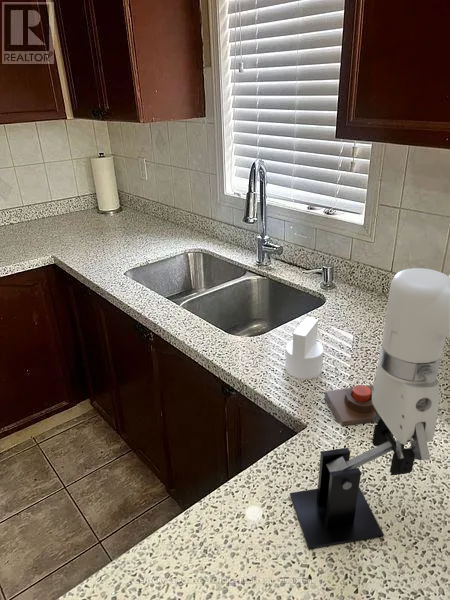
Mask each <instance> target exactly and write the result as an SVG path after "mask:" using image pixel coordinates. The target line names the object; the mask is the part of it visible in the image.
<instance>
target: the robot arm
mask: <svg viewBox="0 0 450 600" xmlns="http://www.w3.org/2000/svg"><path fill="white" fill-rule="evenodd" d="M447 338H448V339H450V274H448V275H447V274H446V273H444V272H441V271H438V270H435V269H429V268H424V267H423V268H422V267H413V268H405V269H402V270H400V271H398V272H396V274H395V275H394V276H393V278H392V280H391V282H390V286H389V292H388V300H387V305H386V313H385V319H384V324H383V333H382V339H381V346H380V353H379V360H378V363H377V367H376V370H375V374H374V380H373V384H372V385H373V388H372V403H373V405H374V408H375V412H376V413H375V416H374V422H373V423H374V428H373V432H372V433H373V435H372V442H371V444H372V445H373V447H377V446H379V445H381V444H383V443H385V442H387V441H386V440H385V438H384V437H383V435H382V432H383V431H384V430H389V431H390V433H391V434H392V436H393V437H394V439H395V440H396V452H395V453H394V452H393V453H392V458H391V463H390V468H389V473H390V474H391V476H400V475H407V474H410V473H412V472H413V469H414V468H413V467H414V464H415V460H417V461H425V460H430V459H431V455H430V450H429V445H428V443H429V442H433V439H434V437H435V433H436V427H437V421H438V415H439V405H440V382H439V380H438V379H437V378H438V374H439V369H440V366H441V361H442V357H443V353H444V348H445V343H446V339H447ZM407 443H410V447H407V448H405V446H406V445H407Z"/></svg>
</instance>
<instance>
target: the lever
mask: <svg viewBox="0 0 450 600" xmlns="http://www.w3.org/2000/svg"><path fill="white" fill-rule="evenodd" d="M382 435H383V437H384V438H385V440H386V441H387V442H385V443H383V444H381V445H379V446H374V447H373V448H371V449H368V450H366V451H365V452H363V453H360V454H359V455H356V456H355V457H352V458H350V459H349V460H348V461H346V462H345V460H344V458H343V456H342V457H340V458H338V459H336V460H334V461H332V462H330V463H328V464H326V465H327V467H328V469H329V472H333V471H339V470H346V469H353V468H359V467H362V466H363V465H365V464H367V463H370V462H371V461H374V460H376V459H378V458H380V457H382V456H384V455H386V454H388V453H390V452H393V453H395V452H396V438H395V437H393V436H392V434H391V433H390V431H389V430H384V431H383V432H382Z"/></svg>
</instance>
